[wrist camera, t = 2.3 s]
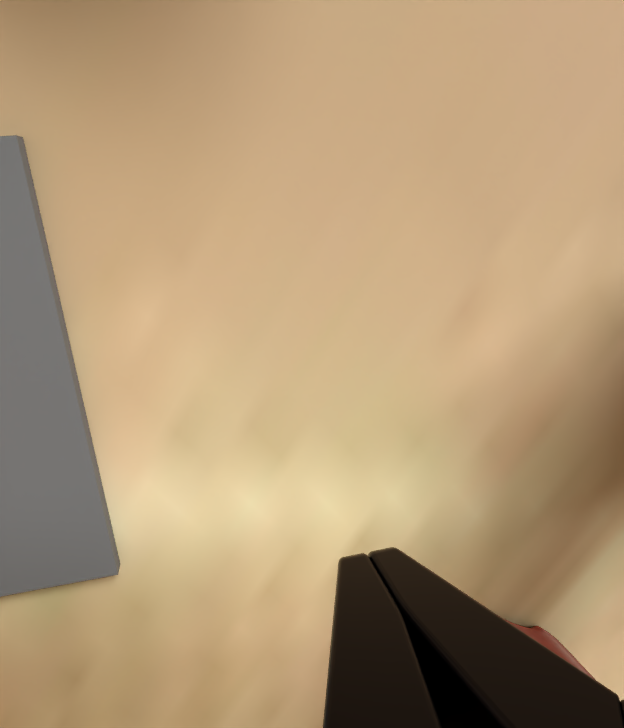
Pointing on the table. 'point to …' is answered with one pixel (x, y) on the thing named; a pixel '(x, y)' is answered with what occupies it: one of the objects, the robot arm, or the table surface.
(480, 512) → the table surface
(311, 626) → the table surface
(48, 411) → the mat
